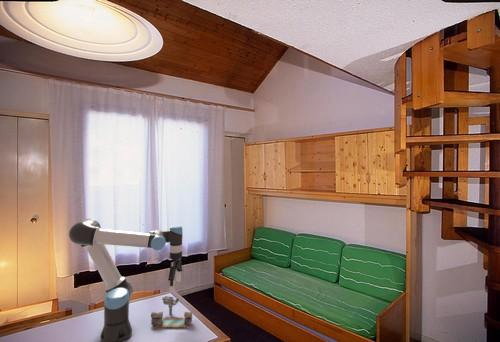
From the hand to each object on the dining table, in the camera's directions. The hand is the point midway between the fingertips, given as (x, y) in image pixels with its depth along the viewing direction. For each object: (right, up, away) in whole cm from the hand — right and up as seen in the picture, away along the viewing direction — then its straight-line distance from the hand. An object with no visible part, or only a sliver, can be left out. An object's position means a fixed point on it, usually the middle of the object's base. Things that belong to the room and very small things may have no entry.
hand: (175, 286), depth 163 cm
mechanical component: (-3, -18, +1) cm, 18 cm away
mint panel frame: (+2, -17, -10) cm, 20 cm away
